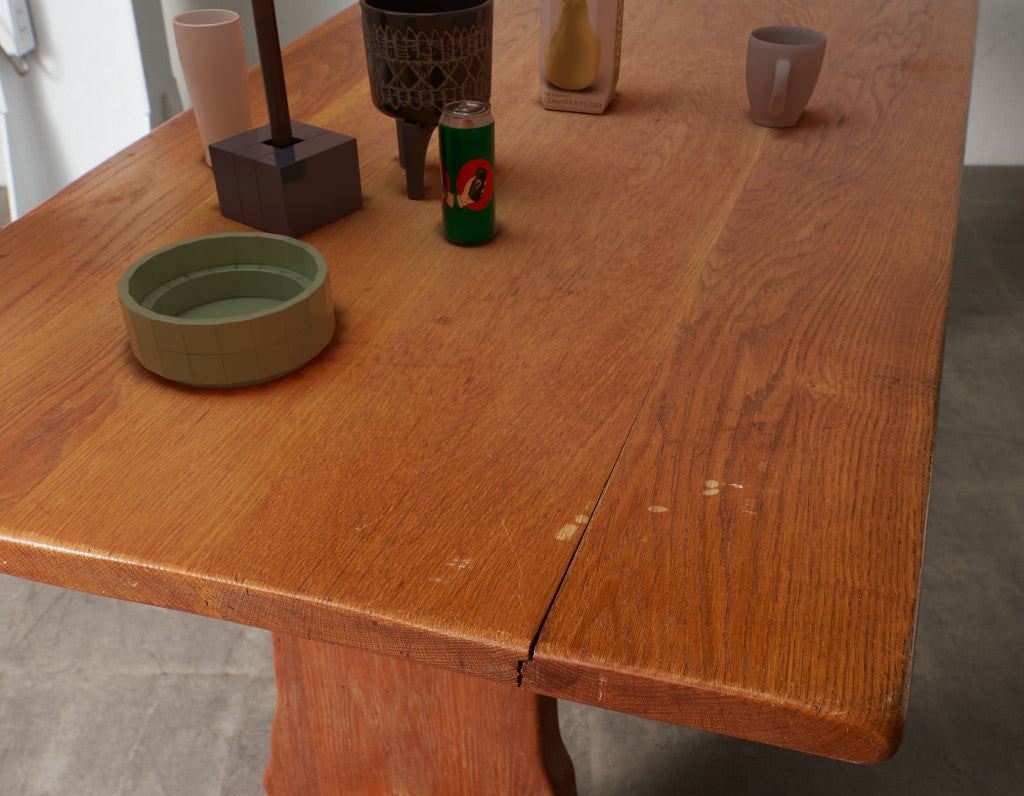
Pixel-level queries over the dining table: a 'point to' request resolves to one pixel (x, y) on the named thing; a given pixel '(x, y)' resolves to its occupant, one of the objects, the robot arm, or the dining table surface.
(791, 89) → the mug
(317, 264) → the bowl
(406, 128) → the planter
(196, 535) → the dining table surface
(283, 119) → the dark brown square rod
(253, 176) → the holder
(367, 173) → the dining table surface
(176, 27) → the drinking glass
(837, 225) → the dining table surface
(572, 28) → the juice carton
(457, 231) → the soda can
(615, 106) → the dining table surface
